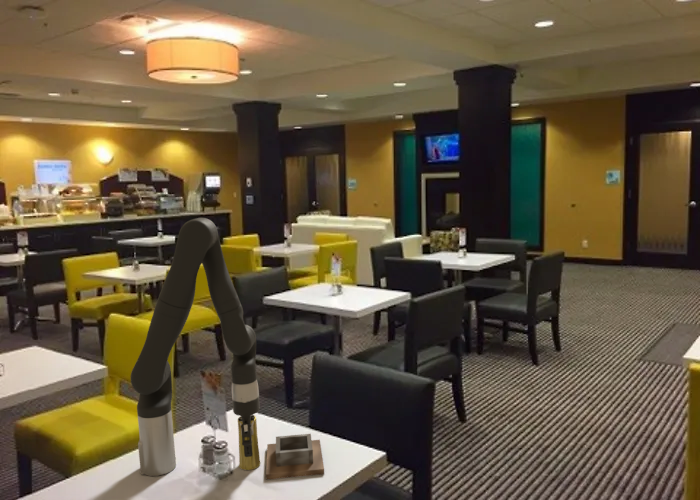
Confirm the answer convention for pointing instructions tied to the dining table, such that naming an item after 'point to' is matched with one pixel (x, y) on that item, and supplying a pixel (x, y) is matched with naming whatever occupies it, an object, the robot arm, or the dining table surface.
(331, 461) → the dining table surface
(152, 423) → the robot arm
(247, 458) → the vase
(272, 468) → the dock
